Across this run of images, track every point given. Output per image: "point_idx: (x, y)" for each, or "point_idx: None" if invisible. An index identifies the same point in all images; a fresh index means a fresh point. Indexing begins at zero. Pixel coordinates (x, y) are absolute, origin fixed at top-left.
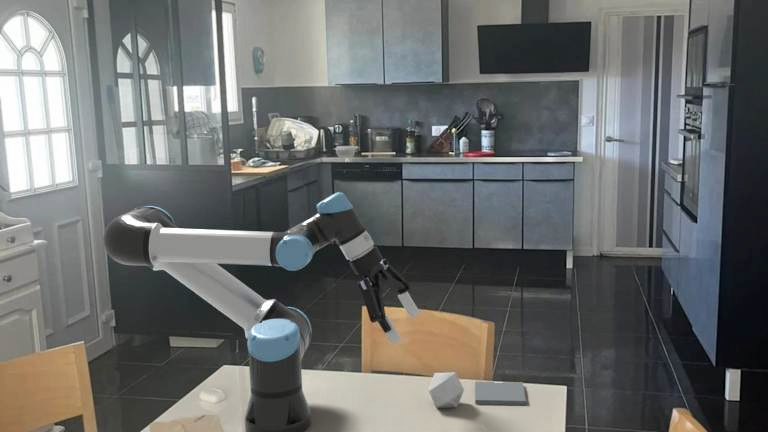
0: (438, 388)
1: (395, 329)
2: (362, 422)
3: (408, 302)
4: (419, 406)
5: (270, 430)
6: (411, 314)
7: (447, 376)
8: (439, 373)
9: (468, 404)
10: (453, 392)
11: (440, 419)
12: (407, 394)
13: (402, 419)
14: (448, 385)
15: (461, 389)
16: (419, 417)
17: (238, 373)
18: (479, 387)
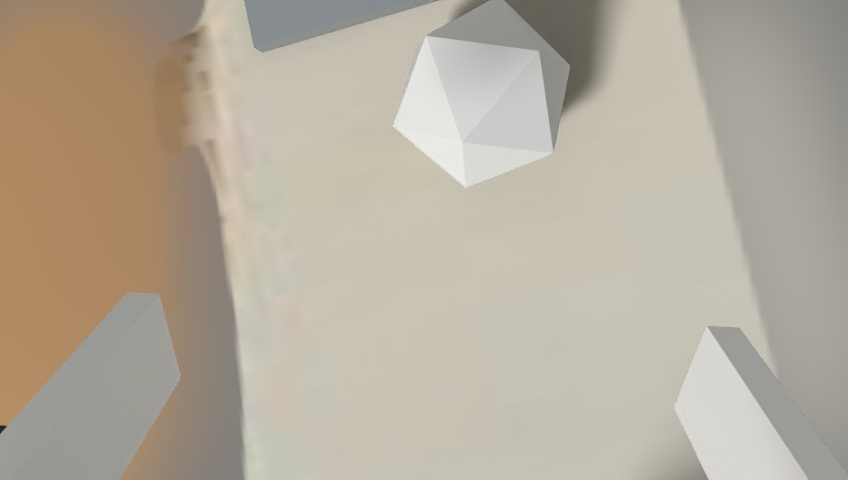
0: (551, 104)
1: (789, 424)
2: None
3: (63, 465)
4: (526, 213)
5: None
6: (159, 379)
7: (495, 59)
8: (462, 114)
9: None
10: (539, 37)
11: (636, 92)
12: (419, 293)
13: (675, 245)
14: (544, 49)
15: (507, 4)
16: (637, 182)
17: None
18: (311, 11)
